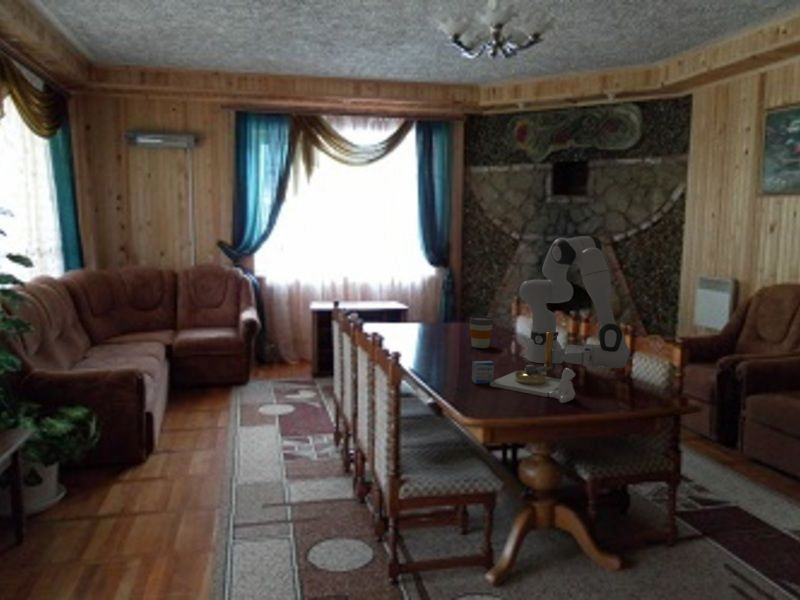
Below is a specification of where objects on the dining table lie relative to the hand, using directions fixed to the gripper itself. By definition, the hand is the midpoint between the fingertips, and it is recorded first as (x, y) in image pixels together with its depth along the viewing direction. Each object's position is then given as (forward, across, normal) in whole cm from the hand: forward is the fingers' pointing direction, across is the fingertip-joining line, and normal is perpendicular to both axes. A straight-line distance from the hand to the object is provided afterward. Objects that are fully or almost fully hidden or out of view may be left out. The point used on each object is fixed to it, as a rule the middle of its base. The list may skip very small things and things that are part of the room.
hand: (553, 351), depth 257 cm
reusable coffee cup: (+42, -56, +12) cm, 71 cm away
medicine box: (+26, +17, +12) cm, 34 cm away
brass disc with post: (+6, +9, +10) cm, 15 cm away
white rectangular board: (+8, +14, +12) cm, 20 cm away
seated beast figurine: (-7, +28, +12) cm, 31 cm away
